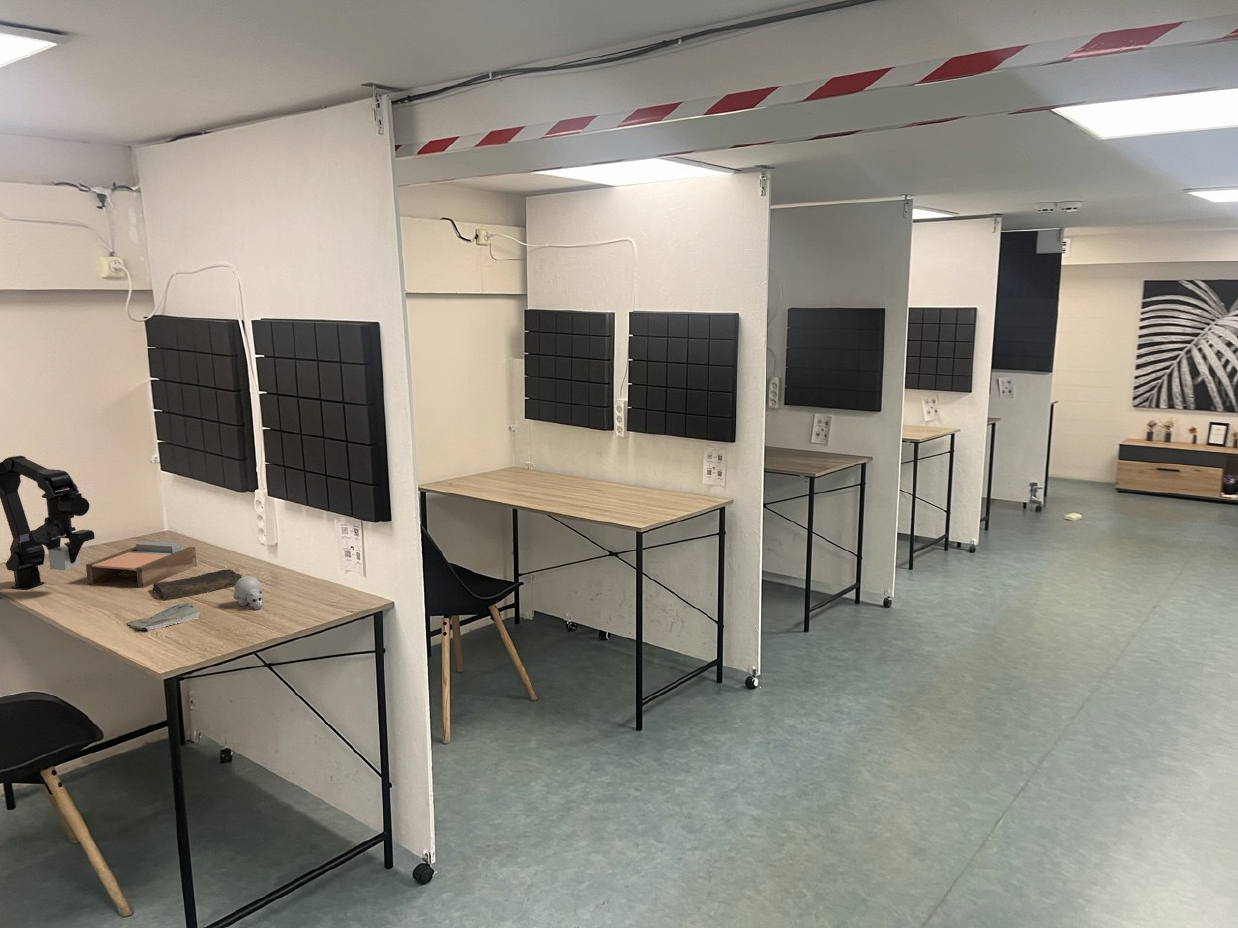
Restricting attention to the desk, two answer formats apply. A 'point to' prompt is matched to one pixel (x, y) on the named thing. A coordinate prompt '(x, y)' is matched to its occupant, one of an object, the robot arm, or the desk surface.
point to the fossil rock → (167, 617)
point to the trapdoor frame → (146, 567)
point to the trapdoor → (140, 555)
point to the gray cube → (61, 559)
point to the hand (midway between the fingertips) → (64, 562)
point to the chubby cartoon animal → (248, 592)
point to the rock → (196, 584)
